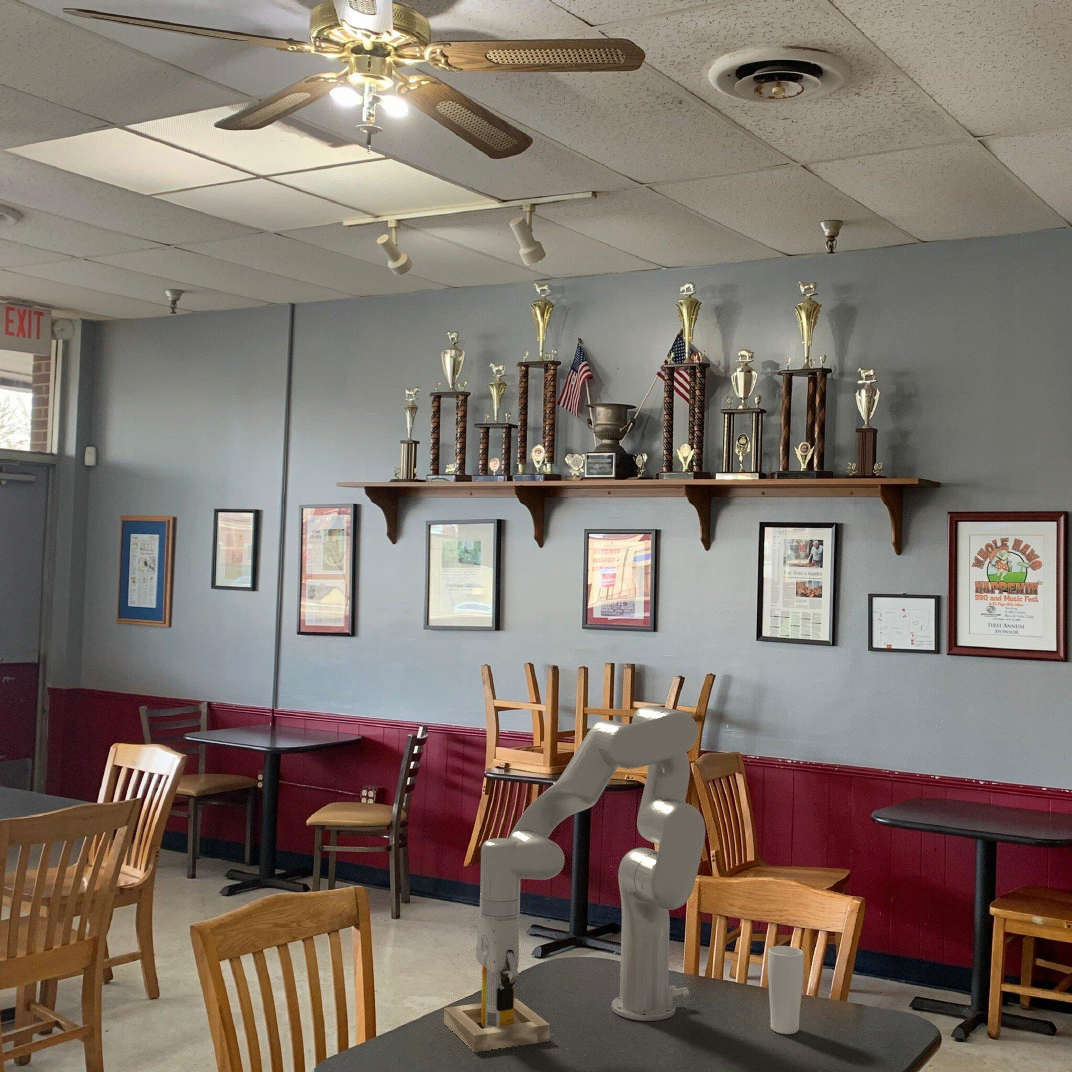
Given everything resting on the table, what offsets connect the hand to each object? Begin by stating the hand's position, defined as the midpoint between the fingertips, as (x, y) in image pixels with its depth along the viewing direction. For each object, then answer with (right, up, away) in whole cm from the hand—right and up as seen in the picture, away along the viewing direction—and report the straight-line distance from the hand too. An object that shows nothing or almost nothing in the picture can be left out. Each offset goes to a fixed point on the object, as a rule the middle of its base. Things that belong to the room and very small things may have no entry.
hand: (497, 1002), depth 224 cm
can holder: (0, -5, 0) cm, 5 cm away
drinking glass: (+55, -7, +5) cm, 55 cm away
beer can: (0, -5, 0) cm, 5 cm away
